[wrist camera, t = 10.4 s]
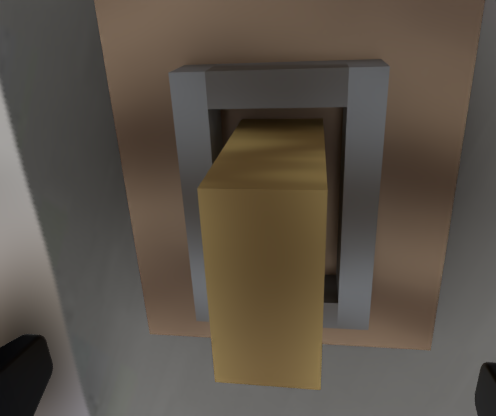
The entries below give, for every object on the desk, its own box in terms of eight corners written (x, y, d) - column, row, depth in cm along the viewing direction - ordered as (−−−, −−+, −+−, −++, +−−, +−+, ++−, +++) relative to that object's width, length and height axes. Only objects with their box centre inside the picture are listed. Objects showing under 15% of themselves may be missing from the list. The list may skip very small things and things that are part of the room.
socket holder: (425, 335, 21) (442, 384, 18) (156, 320, 23) (135, 364, 20) (495, -142, 13) (541, -179, 11) (89, -106, 15) (40, -129, 13)
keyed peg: (323, 118, 16) (327, 190, 10) (318, 260, 19) (320, 389, 12) (241, 119, 17) (197, 188, 10) (248, 257, 19) (215, 382, 13)
